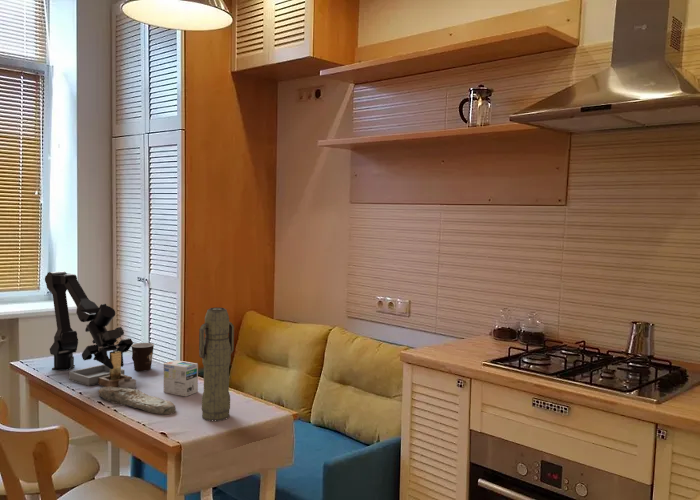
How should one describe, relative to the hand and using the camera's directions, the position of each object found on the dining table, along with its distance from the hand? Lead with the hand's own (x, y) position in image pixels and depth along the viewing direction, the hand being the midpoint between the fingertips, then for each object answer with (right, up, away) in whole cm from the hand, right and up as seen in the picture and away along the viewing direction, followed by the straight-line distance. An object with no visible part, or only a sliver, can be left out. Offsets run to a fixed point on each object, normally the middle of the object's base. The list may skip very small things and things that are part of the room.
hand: (117, 367), depth 230 cm
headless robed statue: (+43, -10, -31) cm, 54 cm away
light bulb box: (+25, -8, -7) cm, 27 cm away
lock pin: (-1, -7, +1) cm, 7 cm away
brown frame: (+1, -7, 0) cm, 7 cm away
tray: (-11, -6, +8) cm, 15 cm away
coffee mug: (+1, -5, +21) cm, 22 cm away
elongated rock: (+14, -9, -20) cm, 26 cm away
